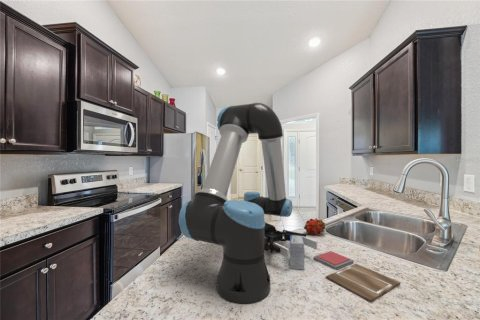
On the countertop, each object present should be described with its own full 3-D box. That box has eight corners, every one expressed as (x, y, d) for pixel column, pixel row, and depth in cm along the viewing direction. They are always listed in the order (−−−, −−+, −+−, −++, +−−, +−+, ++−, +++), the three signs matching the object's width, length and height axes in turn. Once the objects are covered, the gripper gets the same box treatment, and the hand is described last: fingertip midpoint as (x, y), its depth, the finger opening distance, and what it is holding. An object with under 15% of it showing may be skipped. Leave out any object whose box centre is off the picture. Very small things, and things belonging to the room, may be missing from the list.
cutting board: (370, 302, 52) (370, 299, 52) (326, 278, 63) (326, 275, 63) (400, 284, 60) (400, 281, 60) (356, 265, 72) (356, 263, 72)
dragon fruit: (327, 237, 104) (306, 242, 102) (318, 223, 111) (297, 227, 109) (332, 226, 99) (309, 231, 97) (322, 212, 106) (300, 217, 104)
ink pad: (335, 270, 68) (335, 266, 68) (313, 259, 76) (313, 255, 76) (353, 263, 73) (353, 259, 73) (330, 253, 81) (330, 250, 81)
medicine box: (304, 270, 68) (304, 243, 68) (290, 269, 69) (290, 242, 69) (302, 259, 76) (302, 235, 76) (289, 258, 77) (289, 234, 77)
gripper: (286, 235, 95) (326, 252, 76) (239, 246, 82) (274, 270, 64) (286, 219, 95) (326, 232, 77) (239, 227, 82) (274, 245, 64)
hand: (303, 249), depth 70 cm, fingers open, 13 cm apart
